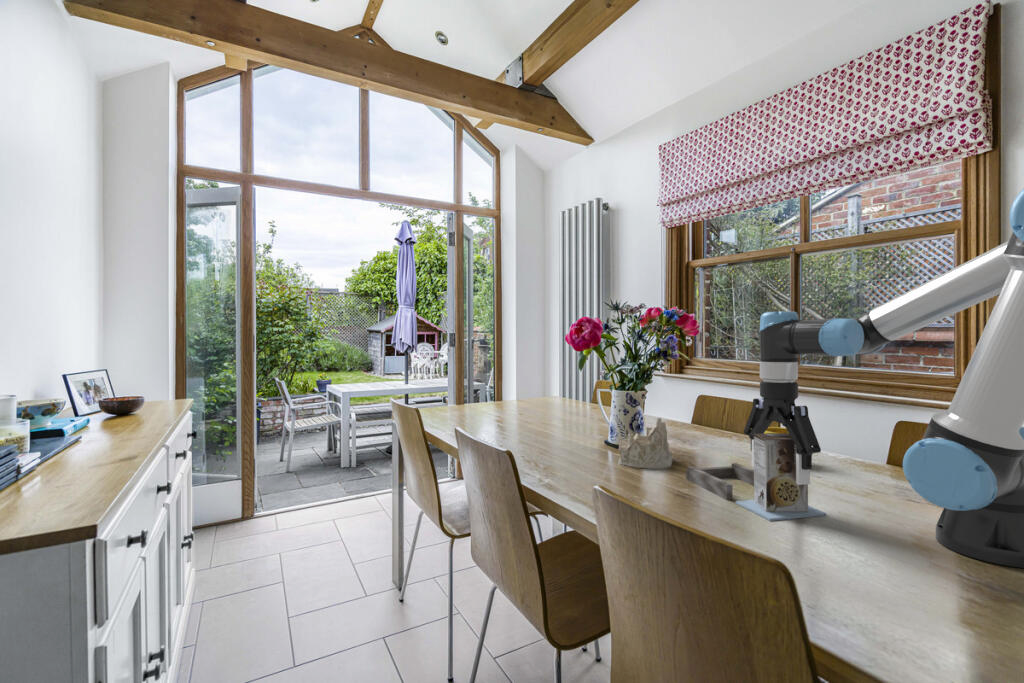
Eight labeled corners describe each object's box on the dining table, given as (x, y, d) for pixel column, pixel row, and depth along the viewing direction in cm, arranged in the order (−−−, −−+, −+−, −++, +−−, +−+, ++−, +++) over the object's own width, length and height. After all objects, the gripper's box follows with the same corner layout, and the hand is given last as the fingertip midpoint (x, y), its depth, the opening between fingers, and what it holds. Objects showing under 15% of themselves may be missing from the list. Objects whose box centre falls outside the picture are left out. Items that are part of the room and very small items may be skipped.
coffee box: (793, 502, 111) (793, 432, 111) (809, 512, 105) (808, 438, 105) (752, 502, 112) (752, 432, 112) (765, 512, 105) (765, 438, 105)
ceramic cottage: (677, 458, 153) (673, 411, 153) (666, 473, 139) (662, 421, 139) (629, 455, 161) (625, 410, 161) (613, 469, 147) (609, 420, 147)
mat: (826, 515, 105) (826, 512, 105) (769, 521, 102) (769, 518, 102) (787, 498, 115) (787, 496, 115) (735, 503, 112) (735, 501, 112)
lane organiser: (781, 494, 118) (781, 480, 118) (726, 499, 115) (726, 485, 115) (734, 474, 135) (734, 462, 135) (686, 478, 132) (686, 465, 132)
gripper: (841, 385, 97) (841, 490, 97) (754, 375, 121) (755, 459, 121) (809, 386, 95) (809, 493, 95) (728, 376, 120) (728, 461, 120)
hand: (779, 474), depth 108 cm, fingers open, 13 cm apart
